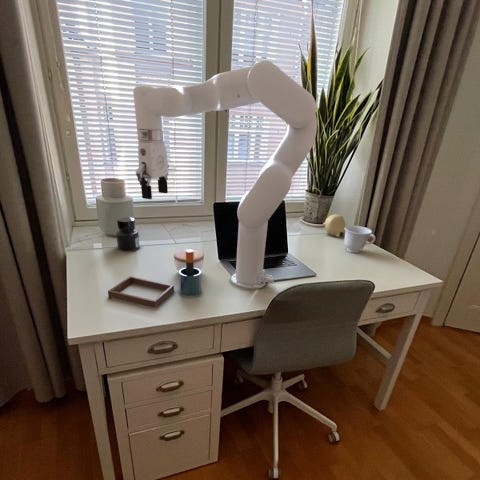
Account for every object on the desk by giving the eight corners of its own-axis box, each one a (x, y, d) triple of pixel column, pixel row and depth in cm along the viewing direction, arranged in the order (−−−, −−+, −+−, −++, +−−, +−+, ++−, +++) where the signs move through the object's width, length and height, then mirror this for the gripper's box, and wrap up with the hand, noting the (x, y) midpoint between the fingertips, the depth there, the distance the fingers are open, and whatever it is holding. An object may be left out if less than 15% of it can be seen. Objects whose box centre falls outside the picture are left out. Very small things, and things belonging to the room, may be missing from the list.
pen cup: (204, 289, 118) (204, 269, 114) (195, 298, 112) (195, 277, 108) (185, 286, 120) (184, 265, 116) (176, 294, 114) (175, 273, 110)
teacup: (362, 259, 151) (368, 237, 146) (334, 249, 161) (339, 227, 155) (377, 254, 158) (383, 232, 153) (349, 244, 168) (354, 223, 162)
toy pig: (330, 244, 177) (348, 234, 170) (317, 224, 175) (336, 212, 168) (335, 238, 184) (352, 228, 177) (323, 219, 182) (341, 208, 175)
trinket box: (206, 279, 125) (206, 254, 120) (176, 281, 122) (175, 256, 117) (200, 267, 134) (200, 243, 129) (172, 269, 131) (171, 245, 126)
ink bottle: (143, 249, 146) (140, 221, 139) (122, 253, 141) (118, 224, 135) (135, 242, 152) (132, 215, 146) (114, 245, 148) (111, 217, 141)
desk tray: (174, 292, 115) (173, 285, 114) (155, 309, 105) (155, 301, 104) (130, 283, 119) (129, 276, 118) (108, 298, 109) (107, 291, 108)
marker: (195, 289, 116) (194, 250, 109) (192, 293, 114) (191, 252, 107) (188, 288, 117) (187, 248, 110) (185, 291, 115) (184, 251, 108)
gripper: (145, 138, 95) (151, 202, 104) (175, 135, 109) (178, 192, 118) (122, 136, 97) (129, 199, 106) (154, 133, 111) (159, 189, 120)
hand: (155, 195), depth 112 cm, fingers open, 9 cm apart
